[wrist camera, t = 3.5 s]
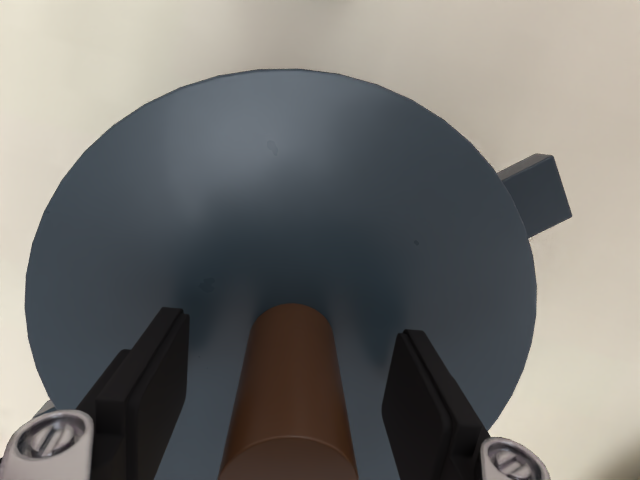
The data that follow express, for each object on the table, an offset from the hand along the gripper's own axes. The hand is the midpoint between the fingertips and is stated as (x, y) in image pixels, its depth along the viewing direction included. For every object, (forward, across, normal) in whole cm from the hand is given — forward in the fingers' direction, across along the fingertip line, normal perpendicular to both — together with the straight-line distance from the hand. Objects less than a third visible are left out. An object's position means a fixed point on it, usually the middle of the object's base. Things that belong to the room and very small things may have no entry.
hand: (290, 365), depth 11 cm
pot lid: (+2, 0, 0) cm, 2 cm away
